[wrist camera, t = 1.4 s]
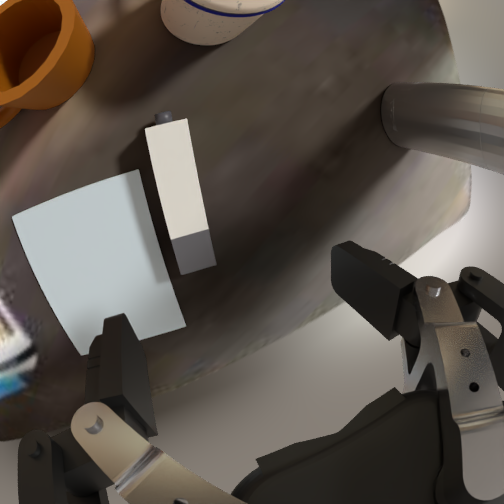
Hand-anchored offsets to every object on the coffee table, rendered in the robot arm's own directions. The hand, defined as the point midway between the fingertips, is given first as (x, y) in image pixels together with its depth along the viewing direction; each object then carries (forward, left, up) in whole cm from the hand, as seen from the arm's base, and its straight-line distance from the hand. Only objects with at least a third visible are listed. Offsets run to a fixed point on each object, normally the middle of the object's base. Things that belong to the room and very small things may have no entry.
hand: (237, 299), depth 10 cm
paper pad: (+10, +6, -18) cm, 21 cm away
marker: (0, 0, -18) cm, 18 cm away
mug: (+11, -15, -18) cm, 26 cm away
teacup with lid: (-5, -19, -18) cm, 27 cm away
